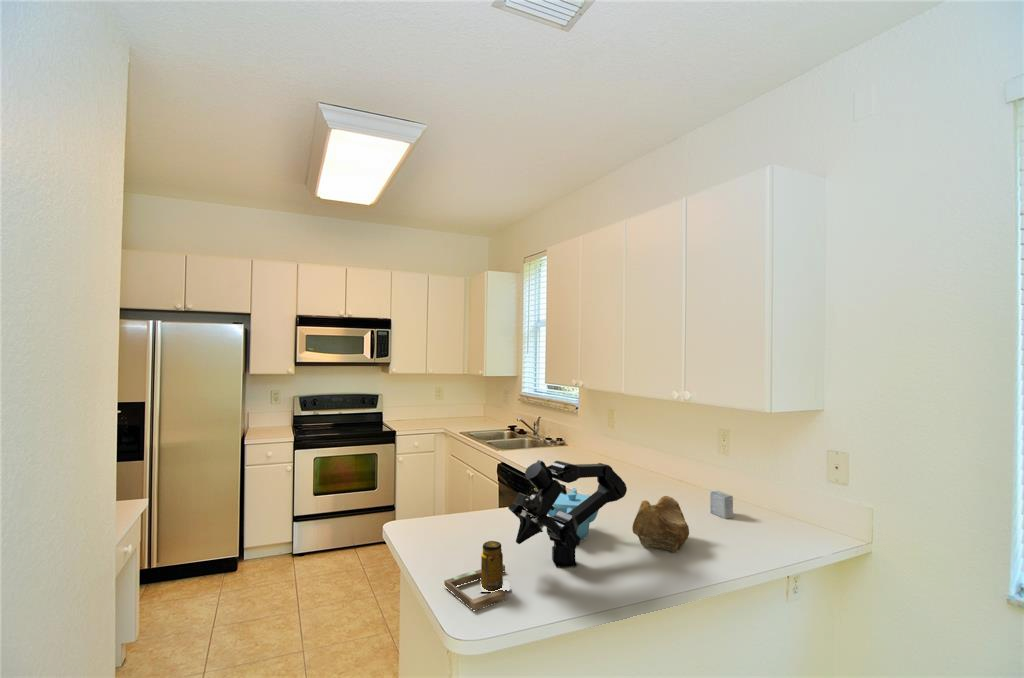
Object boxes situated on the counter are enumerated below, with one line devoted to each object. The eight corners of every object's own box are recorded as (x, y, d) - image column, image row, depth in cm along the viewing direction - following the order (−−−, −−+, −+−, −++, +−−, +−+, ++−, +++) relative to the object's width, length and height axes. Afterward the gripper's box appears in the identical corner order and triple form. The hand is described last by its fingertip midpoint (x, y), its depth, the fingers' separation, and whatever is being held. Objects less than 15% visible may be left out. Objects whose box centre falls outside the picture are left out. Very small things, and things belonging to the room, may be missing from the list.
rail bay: (501, 569, 153) (501, 562, 153) (533, 589, 140) (533, 581, 140) (444, 587, 141) (444, 579, 141) (473, 611, 129) (473, 602, 129)
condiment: (479, 581, 145) (479, 539, 145) (508, 580, 146) (509, 538, 146) (480, 593, 138) (480, 549, 138) (511, 592, 139) (511, 548, 139)
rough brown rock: (669, 565, 158) (674, 518, 157) (624, 546, 169) (628, 502, 169) (702, 547, 174) (707, 504, 173) (659, 530, 186) (663, 490, 185)
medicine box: (733, 517, 199) (733, 495, 199) (724, 519, 198) (724, 497, 198) (718, 511, 207) (718, 490, 207) (710, 513, 205) (709, 491, 205)
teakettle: (568, 548, 169) (569, 504, 169) (535, 531, 184) (535, 490, 184) (609, 536, 179) (609, 495, 179) (574, 521, 195) (574, 483, 195)
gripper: (512, 475, 158) (483, 518, 151) (551, 489, 142) (520, 538, 136) (533, 496, 162) (505, 538, 156) (572, 511, 147) (543, 559, 140)
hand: (517, 543), depth 147 cm, fingers closed
